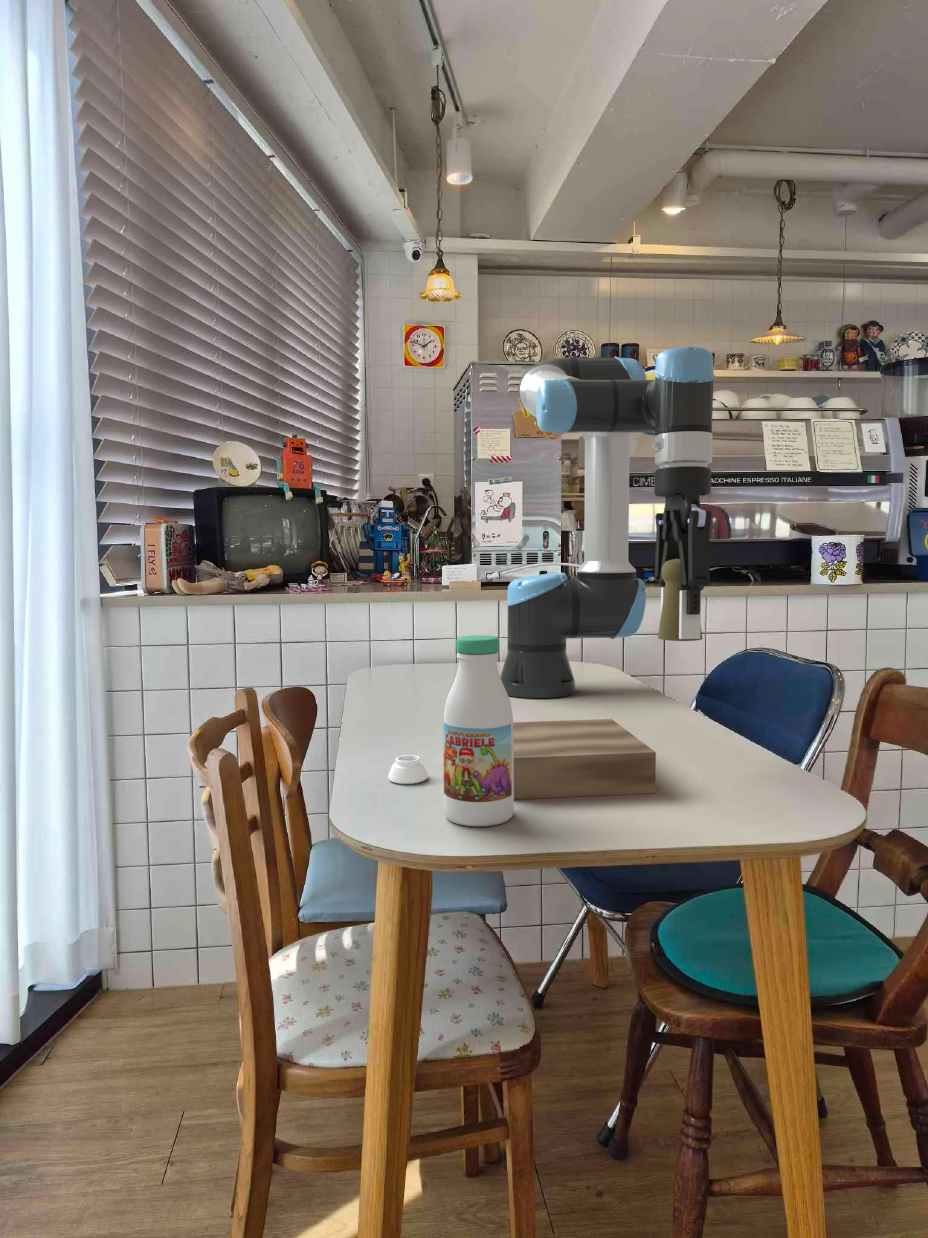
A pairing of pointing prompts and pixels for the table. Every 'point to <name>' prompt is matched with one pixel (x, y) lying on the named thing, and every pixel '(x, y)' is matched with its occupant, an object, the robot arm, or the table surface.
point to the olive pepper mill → (671, 602)
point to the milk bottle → (478, 738)
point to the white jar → (407, 770)
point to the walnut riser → (580, 760)
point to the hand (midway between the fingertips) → (679, 635)
